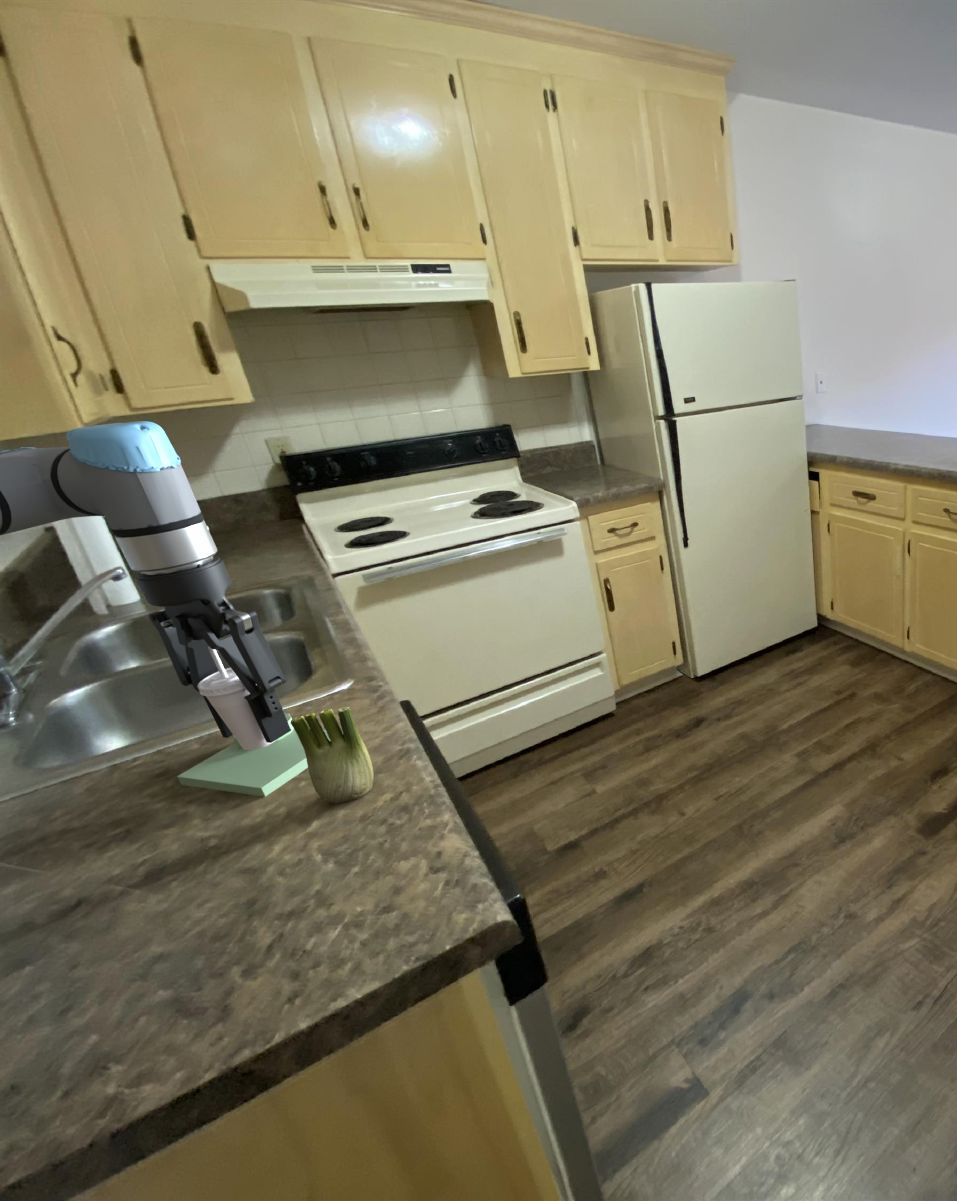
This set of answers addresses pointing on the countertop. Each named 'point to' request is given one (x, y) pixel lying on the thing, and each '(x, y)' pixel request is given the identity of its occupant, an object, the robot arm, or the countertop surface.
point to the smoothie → (232, 705)
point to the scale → (250, 766)
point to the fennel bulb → (335, 755)
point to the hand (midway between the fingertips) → (257, 733)
